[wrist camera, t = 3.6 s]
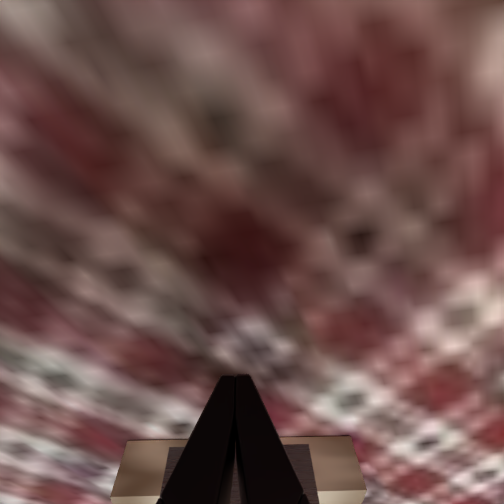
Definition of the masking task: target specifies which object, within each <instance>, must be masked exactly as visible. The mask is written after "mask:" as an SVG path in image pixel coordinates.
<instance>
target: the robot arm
mask: <svg viewBox="0 0 504 504" xmlns="http://www.w3.org/2000/svg"><path fill="white" fill-rule="evenodd" d="M235 449H236V464H237V474H238V484H239V494H240V503H241V504H310V501H309V499H308V497H307V495H306V494H305V493H304V489H303V487H302V485H301V483H300V480H299V478H298V476H297V474H296V472H295V470H294V468H293V465H292V463H291V461H290V459H289V457H288V455H287V453H286V450H285V448H284V446H283V444H282V442H281V440H280V438H279V435H278V433H277V431H276V429H275V427H274V425H273V423H272V420H271V418H270V416H269V414H268V412H267V410H266V408H265V405H264V403H263V401H262V399H261V397H260V395H259V393H258V390H257V388H256V386H255V384H254V382H253V380H252V378H251V376H250V375H249V374H238V375H236V377H235V375H233V374H227V375H221V377H220V378H219V380H218V382H217V384H216V386H215V388H214V390H213V392H212V394H211V396H210V398H209V400H208V402H207V404H206V406H205V408H204V410H203V412H202V414H201V416H200V418H199V420H198V422H197V424H196V426H195V428H194V429H193V431H192V433H191V435H190V437H189V439H188V441H187V443H186V445H185V447H184V449H183V451H182V453H181V455H180V457H179V459H178V461H177V463H176V465H175V467H174V469H173V471H172V473H171V475H170V477H169V479H168V481H167V483H166V485H165V487H164V489H163V491H162V493H161V495H160V496H161V498H159V499H158V500H157V502H156V504H230V500H231V491H232V482H233V474H234V465H235Z"/></svg>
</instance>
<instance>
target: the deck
mask: <svg viewBox="0 0 504 504" xmlns="http://www.w3.org/2000/svg"><path fill="white" fill-rule="evenodd" d="M280 440H281V442H282V444H283V445H286V444H309V449H310V454H311V459H312V465H313V470H314V476H315V481H316V487H317V492H318V498H319V503H320V504H362V501H363V499H364V496H365V494H366V491H367V489H366V486H365V483H364V479H363V476H362V473H361V469H360V466H359V463H358V459H357V456H356V453H355V450H354V446H353V443H352V440H351V436H328V437H281V438H280ZM187 441H188V440H142V441H127V444H126V448H125V451H124V454H123V457H122V460H121V464H120V467H119V470H118V473H117V477H116V480H115V483H114V486H113V489H112V493H111V496H110V498H111V500H112V503H113V504H156V502H157V500H158V499H159V498H160V492H161V487H162V482H163V477H164V472H165V467H166V462H167V456H168V451H169V447H185V445H186V443H187Z"/></svg>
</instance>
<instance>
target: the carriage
mask: <svg viewBox="0 0 504 504" xmlns="http://www.w3.org/2000/svg"><path fill="white" fill-rule="evenodd" d="M283 446H284V448H285V450H286V453H287V455H288V457H289V459H290V461H291V463H292V465H293V468H294V470H295V472H296V474H297V476H298V478H299V480H300V483H301V485H302V487H303V489H304V493H305V494H306V495H307V497H308V499H309V501H310V504H320V503H319V498H318V492H317V487H316V481H315V476H314V470H313V465H312V459H311V454H310V449H309V444H286V445H283ZM183 449H184V447H169V451H168V456H167V462H166V467H165V472H164V477H163V482H162V487H161V492H160V495H161V493H162V491H163V489H164V487H165V485H166V483H167V481H168V479H169V477H170V475H171V473H172V471H173V469H174V467H175V465H176V463H177V461H178V459H179V457H180V455H181V453H182V451H183ZM160 498H161V496H160ZM230 504H241V503H240V494H239V484H238V474H237V464H236V449H235V465H234V474H233V482H232V491H231V500H230Z"/></svg>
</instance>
